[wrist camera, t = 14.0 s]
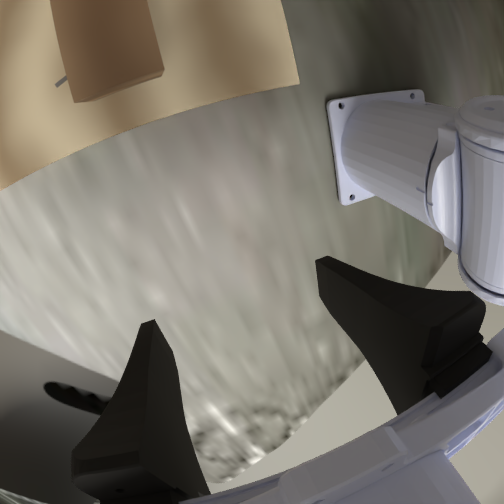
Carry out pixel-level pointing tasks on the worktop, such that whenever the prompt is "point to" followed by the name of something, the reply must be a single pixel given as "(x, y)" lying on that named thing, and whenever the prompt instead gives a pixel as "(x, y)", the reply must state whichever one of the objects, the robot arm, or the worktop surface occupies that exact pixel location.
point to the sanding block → (106, 45)
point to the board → (139, 96)
